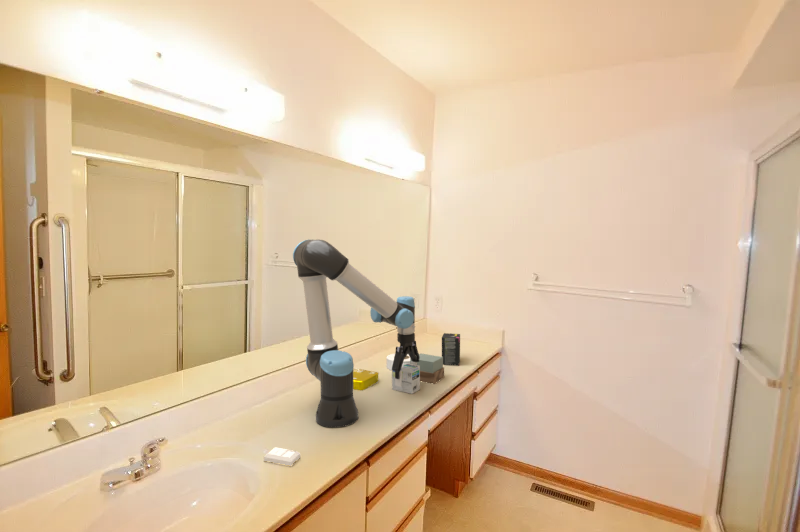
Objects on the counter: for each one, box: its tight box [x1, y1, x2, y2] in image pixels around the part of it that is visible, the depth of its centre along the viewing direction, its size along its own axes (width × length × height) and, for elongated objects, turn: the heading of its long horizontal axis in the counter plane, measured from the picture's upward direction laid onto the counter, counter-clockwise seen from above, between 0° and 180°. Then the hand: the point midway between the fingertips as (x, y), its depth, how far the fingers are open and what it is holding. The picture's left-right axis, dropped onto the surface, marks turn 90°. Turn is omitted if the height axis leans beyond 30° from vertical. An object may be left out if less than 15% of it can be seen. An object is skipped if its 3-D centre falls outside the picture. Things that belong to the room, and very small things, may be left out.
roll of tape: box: [386, 353, 410, 371], centre depth 207 cm, size 16×16×6 cm
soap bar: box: [263, 446, 301, 467], centre depth 118 cm, size 5×9×3 cm, turn 72°
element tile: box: [353, 367, 379, 391], centre depth 183 cm, size 15×15×5 cm
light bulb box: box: [391, 363, 421, 395], centre depth 175 cm, size 11×7×11 cm, turn 58°
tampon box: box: [441, 332, 461, 367], centre depth 215 cm, size 11×9×15 cm
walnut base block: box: [420, 366, 445, 385], centre depth 190 cm, size 11×13×5 cm
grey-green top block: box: [410, 353, 444, 373], centre depth 190 cm, size 10×12×5 cm
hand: (406, 381), depth 175 cm, fingers open, 13 cm apart
